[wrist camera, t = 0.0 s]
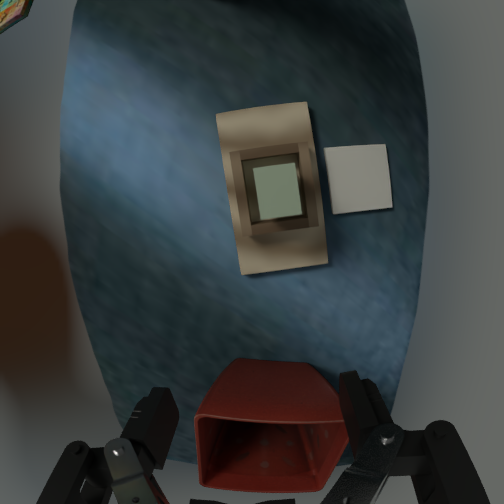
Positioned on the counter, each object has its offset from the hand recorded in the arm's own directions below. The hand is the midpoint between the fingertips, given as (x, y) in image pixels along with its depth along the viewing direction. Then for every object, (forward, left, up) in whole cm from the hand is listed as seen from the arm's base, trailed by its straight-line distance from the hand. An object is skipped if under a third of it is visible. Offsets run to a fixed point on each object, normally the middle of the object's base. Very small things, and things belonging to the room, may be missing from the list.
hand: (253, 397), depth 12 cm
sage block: (-8, +3, -28) cm, 29 cm away
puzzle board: (-8, +3, -29) cm, 31 cm away
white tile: (-8, +15, -29) cm, 34 cm away
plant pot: (+25, -2, -30) cm, 39 cm away
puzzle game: (-65, -50, -30) cm, 87 cm away
